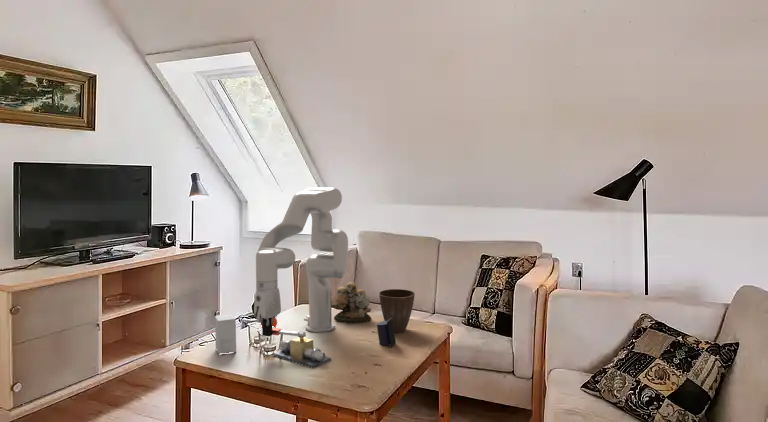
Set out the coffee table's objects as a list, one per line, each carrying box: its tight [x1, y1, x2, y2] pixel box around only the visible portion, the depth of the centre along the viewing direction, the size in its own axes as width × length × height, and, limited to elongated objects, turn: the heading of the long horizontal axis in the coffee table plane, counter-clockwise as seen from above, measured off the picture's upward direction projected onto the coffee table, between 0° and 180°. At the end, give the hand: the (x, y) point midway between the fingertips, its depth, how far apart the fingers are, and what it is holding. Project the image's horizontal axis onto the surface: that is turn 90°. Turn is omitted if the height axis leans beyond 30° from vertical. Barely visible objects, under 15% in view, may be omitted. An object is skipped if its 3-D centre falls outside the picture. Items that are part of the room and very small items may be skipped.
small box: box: [214, 313, 237, 355], centre depth 197 cm, size 8×6×13 cm
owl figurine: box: [331, 281, 372, 324], centre depth 238 cm, size 18×12×17 cm, turn 87°
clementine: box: [272, 316, 278, 328], centre depth 223 cm, size 8×7×7 cm
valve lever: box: [271, 327, 307, 338], centre depth 191 cm, size 3×15×2 cm, turn 71°
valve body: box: [273, 336, 332, 369], centre depth 189 cm, size 20×9×8 cm, turn 53°
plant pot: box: [378, 288, 416, 334], centre depth 222 cm, size 15×15×16 cm
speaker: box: [376, 318, 397, 349], centre depth 204 cm, size 8×6×10 cm
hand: (267, 335), depth 190 cm, fingers closed
